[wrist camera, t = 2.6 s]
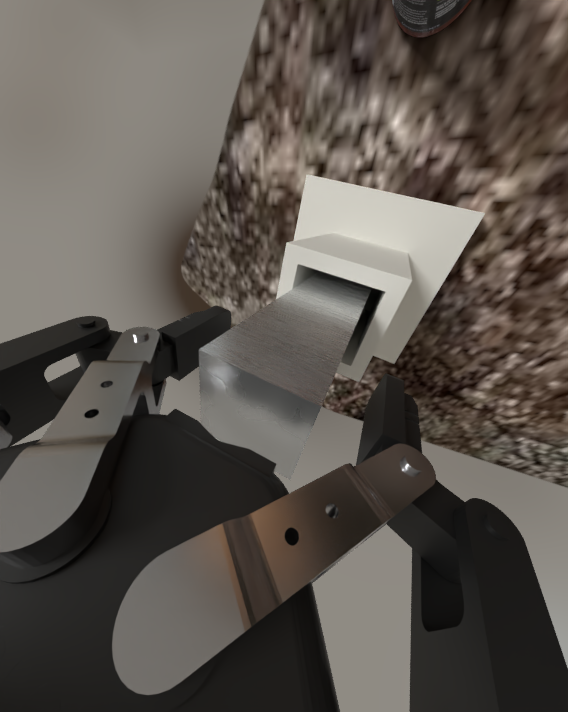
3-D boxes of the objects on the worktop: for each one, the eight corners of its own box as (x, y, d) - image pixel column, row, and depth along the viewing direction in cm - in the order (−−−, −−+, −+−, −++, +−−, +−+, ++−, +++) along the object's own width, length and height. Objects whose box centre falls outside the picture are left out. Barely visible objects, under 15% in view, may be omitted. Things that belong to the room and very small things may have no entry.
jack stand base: (480, 213, 20) (595, 206, 8) (394, 358, 29) (389, 454, 17) (311, 176, 24) (220, 134, 12) (282, 315, 33) (214, 370, 21)
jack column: (380, 267, 23) (321, 406, 6) (363, 306, 26) (287, 485, 9) (343, 256, 24) (198, 349, 7) (330, 295, 27) (201, 436, 10)
